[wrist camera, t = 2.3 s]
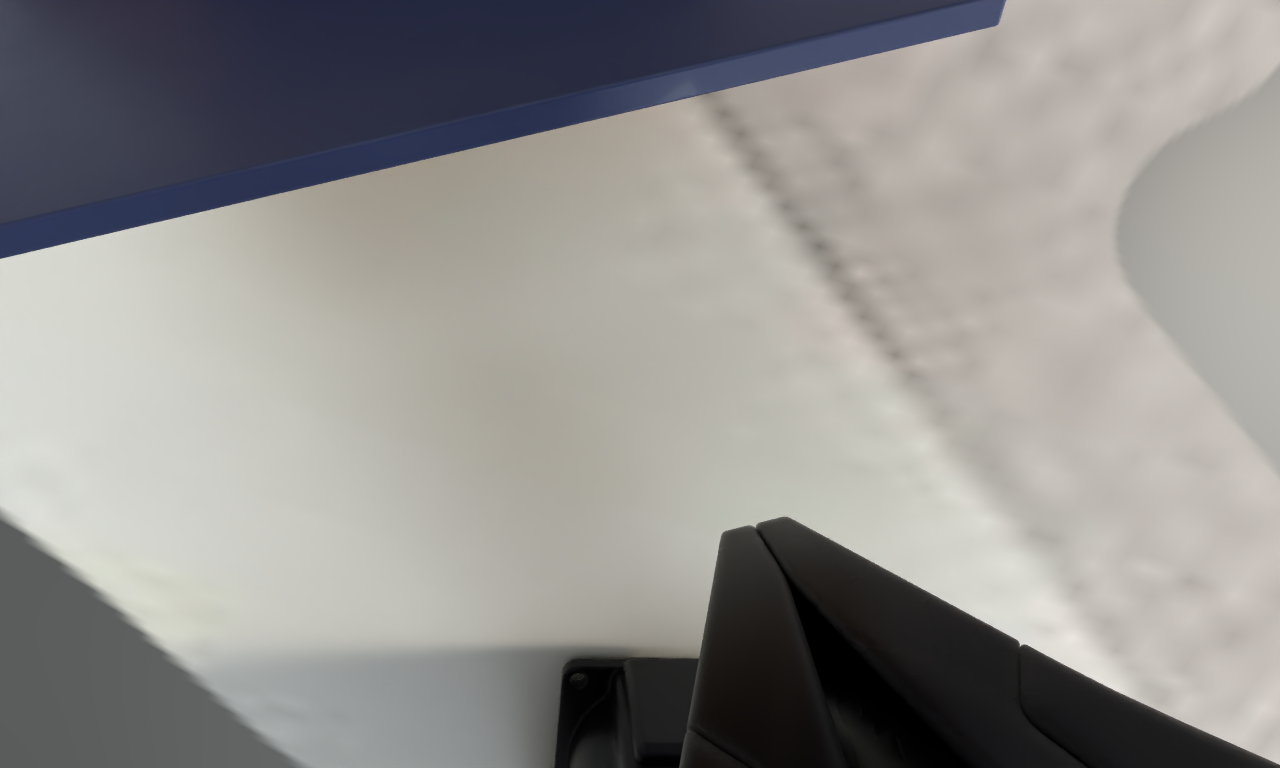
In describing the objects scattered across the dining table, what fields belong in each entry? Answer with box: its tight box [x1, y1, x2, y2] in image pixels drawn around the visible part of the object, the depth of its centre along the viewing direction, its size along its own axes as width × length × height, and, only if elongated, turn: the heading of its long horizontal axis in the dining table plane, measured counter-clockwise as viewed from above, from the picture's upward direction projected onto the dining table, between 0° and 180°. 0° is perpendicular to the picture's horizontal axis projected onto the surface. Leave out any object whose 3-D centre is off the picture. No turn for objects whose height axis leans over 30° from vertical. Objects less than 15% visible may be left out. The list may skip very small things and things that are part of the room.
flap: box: [0, 0, 1006, 259], centre depth 10 cm, size 6×14×1 cm
